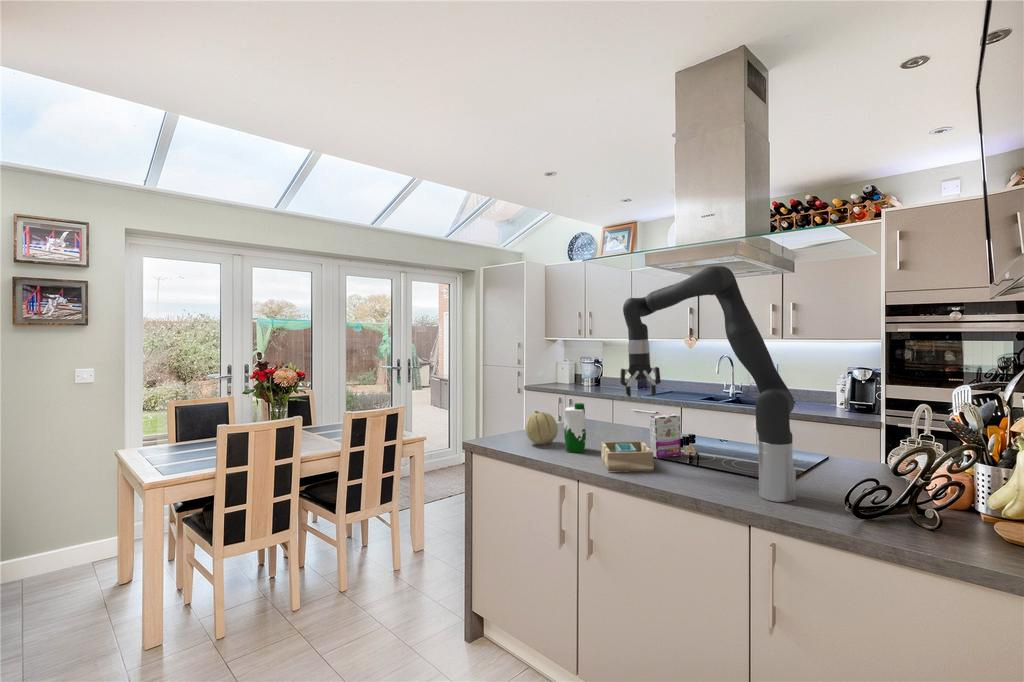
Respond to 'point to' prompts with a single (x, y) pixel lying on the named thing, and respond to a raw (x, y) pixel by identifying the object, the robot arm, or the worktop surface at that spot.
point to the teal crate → (625, 448)
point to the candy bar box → (665, 435)
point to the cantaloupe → (541, 428)
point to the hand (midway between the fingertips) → (641, 396)
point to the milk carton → (575, 428)
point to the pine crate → (627, 457)
